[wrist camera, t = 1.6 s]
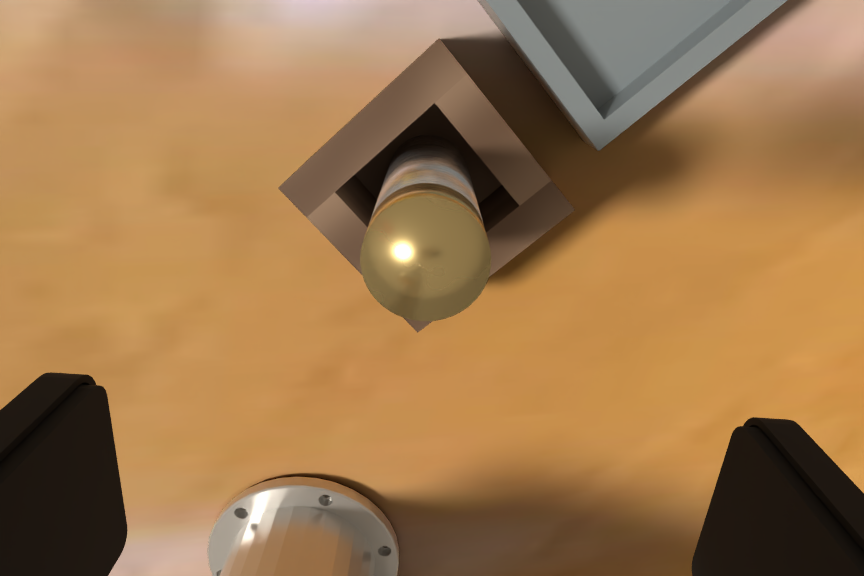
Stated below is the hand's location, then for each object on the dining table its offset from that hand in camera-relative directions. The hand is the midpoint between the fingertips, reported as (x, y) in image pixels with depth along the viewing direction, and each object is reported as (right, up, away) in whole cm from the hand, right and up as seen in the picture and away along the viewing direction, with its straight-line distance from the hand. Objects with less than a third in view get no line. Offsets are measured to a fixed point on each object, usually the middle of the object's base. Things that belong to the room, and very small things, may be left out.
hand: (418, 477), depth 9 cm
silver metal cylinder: (0, +9, +21) cm, 23 cm away
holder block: (0, +9, +22) cm, 24 cm away
